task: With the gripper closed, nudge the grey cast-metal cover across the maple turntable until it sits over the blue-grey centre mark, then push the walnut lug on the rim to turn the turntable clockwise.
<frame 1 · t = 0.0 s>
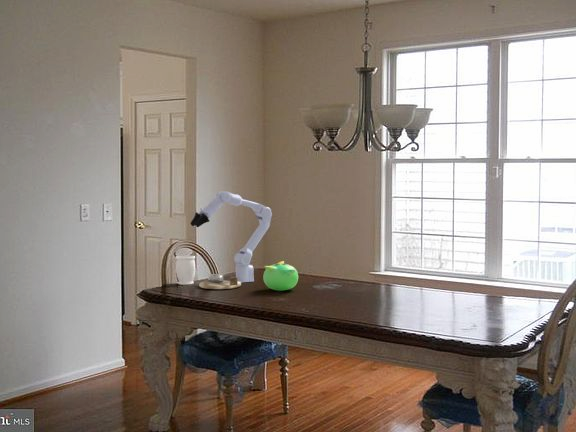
hand: (193, 225, 383), 32 cm above the table, tool tilted 50°, fingers open, 7 cm apart
jar: (185, 284, 391), on the table
turntable: (220, 280, 381), point 3 cm above the table, hinge at 0.0°, touching cover
green tomato: (280, 290, 368), on the table
cover: (215, 281, 387), point 2 cm above the table, touching turntable
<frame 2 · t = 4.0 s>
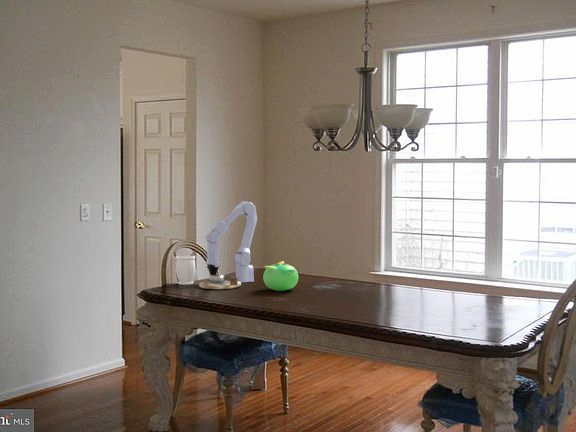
hand: (213, 278, 390), 3 cm above the table, tool pointing down, fingers closed
turntable: (220, 280, 381), point 3 cm above the table, hinge at 0.0°
cover: (216, 281, 385), point 2 cm above the table, touching gripper
everything else where it was.
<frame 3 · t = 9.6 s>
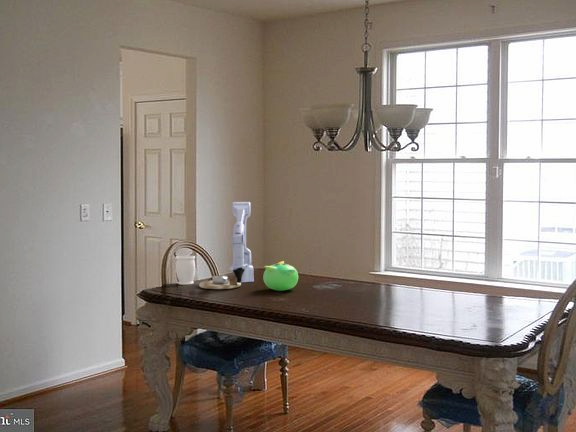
hand: (238, 282, 376), 3 cm above the table, tool pointing down, fingers closed, pressing on turntable
turntable: (220, 280, 381), point 3 cm above the table, hinge at 1.8°, touching cover, gripper
cover: (220, 283, 381), point 2 cm above the table, touching turntable
everything else where it was.
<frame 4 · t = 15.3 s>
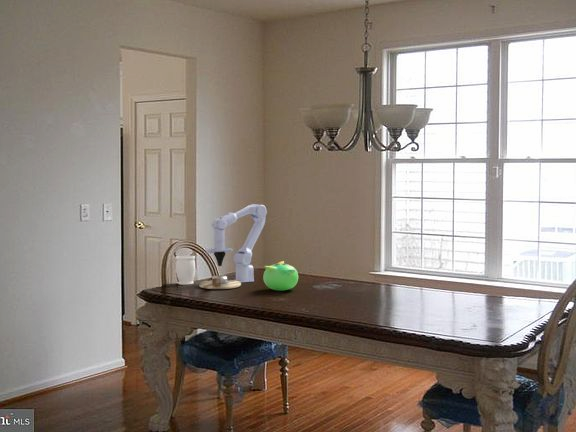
hand: (219, 265, 389), 10 cm above the table, tool pointing down, fingers closed
turntable: (220, 280, 381), point 3 cm above the table, hinge at 63.2°, touching cover
everything else where it was.
at the end: cover 0.2 cm from the turntable (horizontally); turntable at +63° (first picture: +0°); cover tilted 0° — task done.
